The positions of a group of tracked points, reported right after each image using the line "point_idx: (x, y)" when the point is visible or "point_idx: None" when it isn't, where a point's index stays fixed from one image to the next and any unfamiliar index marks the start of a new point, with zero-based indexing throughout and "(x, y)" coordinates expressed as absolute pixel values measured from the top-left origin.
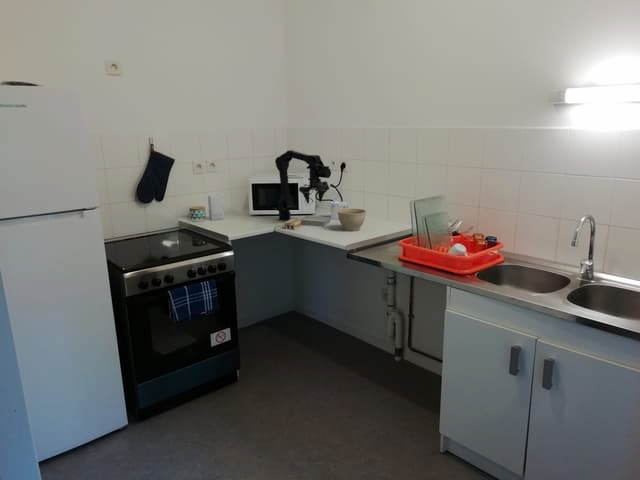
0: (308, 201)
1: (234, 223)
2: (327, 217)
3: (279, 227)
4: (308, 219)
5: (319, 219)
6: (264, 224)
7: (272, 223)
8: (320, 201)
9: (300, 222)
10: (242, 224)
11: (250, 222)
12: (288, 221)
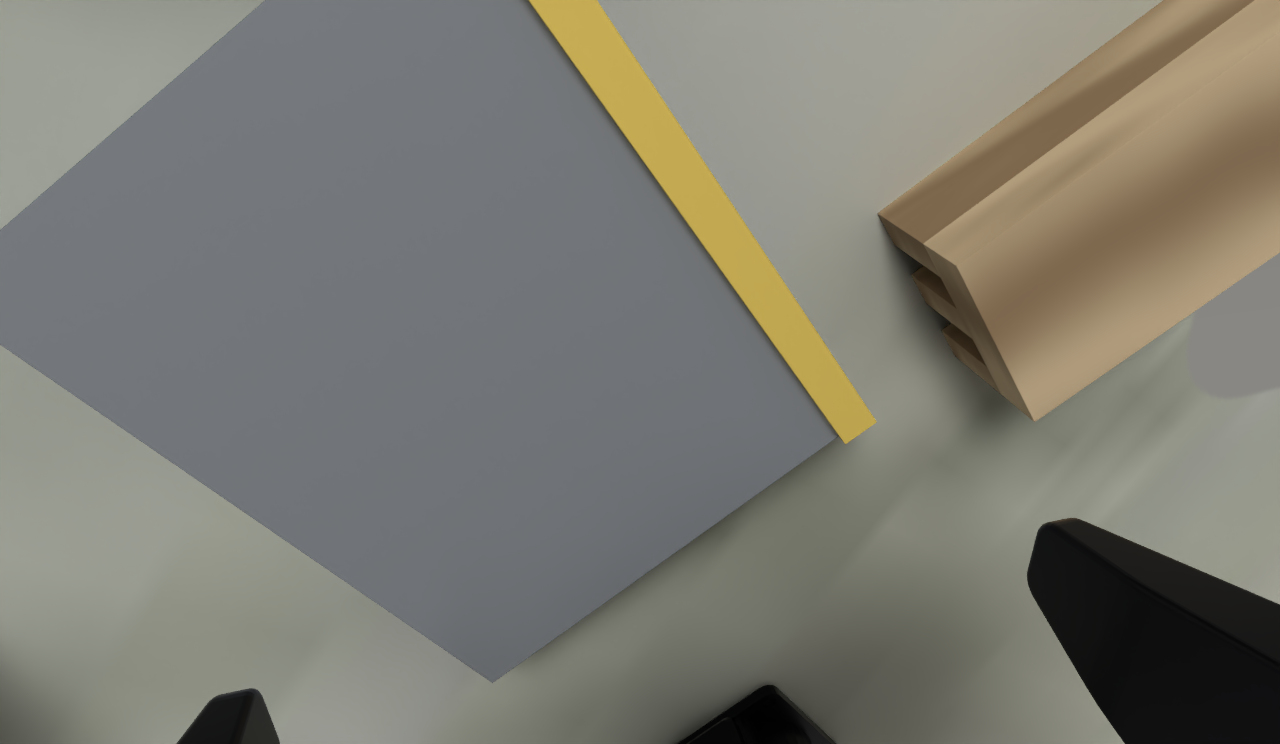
0: (1161, 569)
1: None
2: (31, 322)
3: (1184, 325)
4: (676, 341)
5: (423, 191)
6: None
7: (1032, 606)
8: (252, 705)
9: (948, 227)
10: None
11: None
12: (1238, 258)
